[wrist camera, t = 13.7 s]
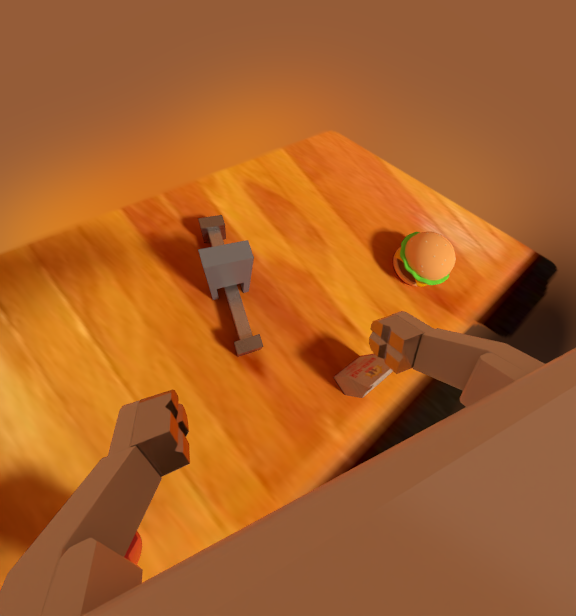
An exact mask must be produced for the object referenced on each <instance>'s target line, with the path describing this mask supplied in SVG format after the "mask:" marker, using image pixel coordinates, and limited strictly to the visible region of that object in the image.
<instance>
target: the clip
mask: <svg viewBox="0 0 576 616" xmlns="http://www.w3.org/2000/svg"><path fill="white" fill-rule="evenodd" d="M198 251H199V254H200V258H201V261H202V265H203V268H204V272H205V275H206V278H207V281H208V285H209V288H210V291H211V295H212V298H213V300H216V299H219V297H218V292H217V289H219V288H223V287H227V286H231V285H235V284H241V287H242V290H243V293H244V292H248V291H249V285H250V279H251V272H252V265H253V259H254V257H253V254H252V251H251V248H250V245H249V242H248V240H247V241H242V242H236V243H231V244H226V245H220V246H215V247H209V248H204V249H199V250H198Z"/></svg>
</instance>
